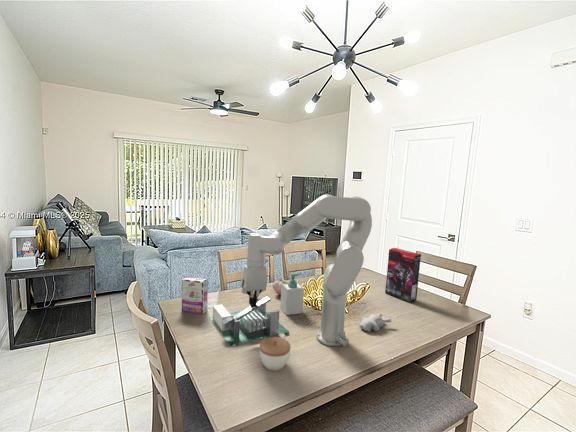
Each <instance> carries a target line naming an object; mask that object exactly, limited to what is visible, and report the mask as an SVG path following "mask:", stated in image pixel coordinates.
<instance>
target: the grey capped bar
mask: <svg viewBox="0 0 576 432" xmlns="http://www.w3.org/2000/svg"><path fill="white" fill-rule="evenodd" d="M262 298H263V299H262V300H260V301H258V302H257V303H256V306H254V307H252V306H251V305H250V306H248V307H246V308H244V310H240V311H241V312H240V313H238V314H236V315H234V316H232V318H231V316H229V317H228V318H226V319H224V320H223V321H221V322H222V324H223V327H224V328H225V329H227V328H229V327H231V326H232V325H234V321H236V320H239V319H241V318H242V317H244V316H246V315H247V314H249V313H251V312H252V311H254V310H256V309H257V308H259V307H261V306H262V305H264V304H266V305H267V303H269V302H270V301H271V298H270V297H269V296H265V297H262ZM233 320H234V321H233Z"/></svg>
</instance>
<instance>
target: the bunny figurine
mask: <svg viewBox="0 0 576 432" xmlns="http://www.w3.org/2000/svg"><path fill="white" fill-rule="evenodd" d="M382 316H383V314H382V313H380V312H378V313H377V314H374V313H373V314H370V315H369V316H368V317H364V316H363V317H361V322H360V323H359V325H358V326H359V328H360V329H362V330H363V331H365V332H368V333H370V332H372V330H373V331H376V332H379V330H380V329H382V327H383V325H384V323H388V324H389V323H390V324H391V323H392V319H391V317H386V318H382Z"/></svg>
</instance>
